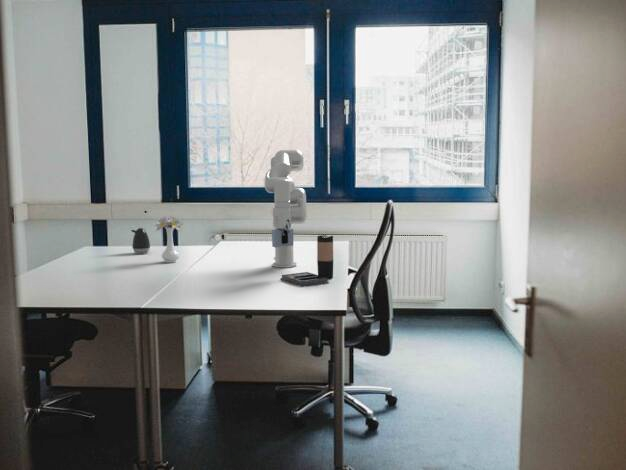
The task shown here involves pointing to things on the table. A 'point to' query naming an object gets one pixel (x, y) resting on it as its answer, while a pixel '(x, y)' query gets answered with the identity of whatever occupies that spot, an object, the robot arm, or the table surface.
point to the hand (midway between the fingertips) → (282, 242)
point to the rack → (305, 279)
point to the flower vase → (169, 237)
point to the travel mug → (325, 256)
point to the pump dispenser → (140, 241)
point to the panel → (278, 238)
